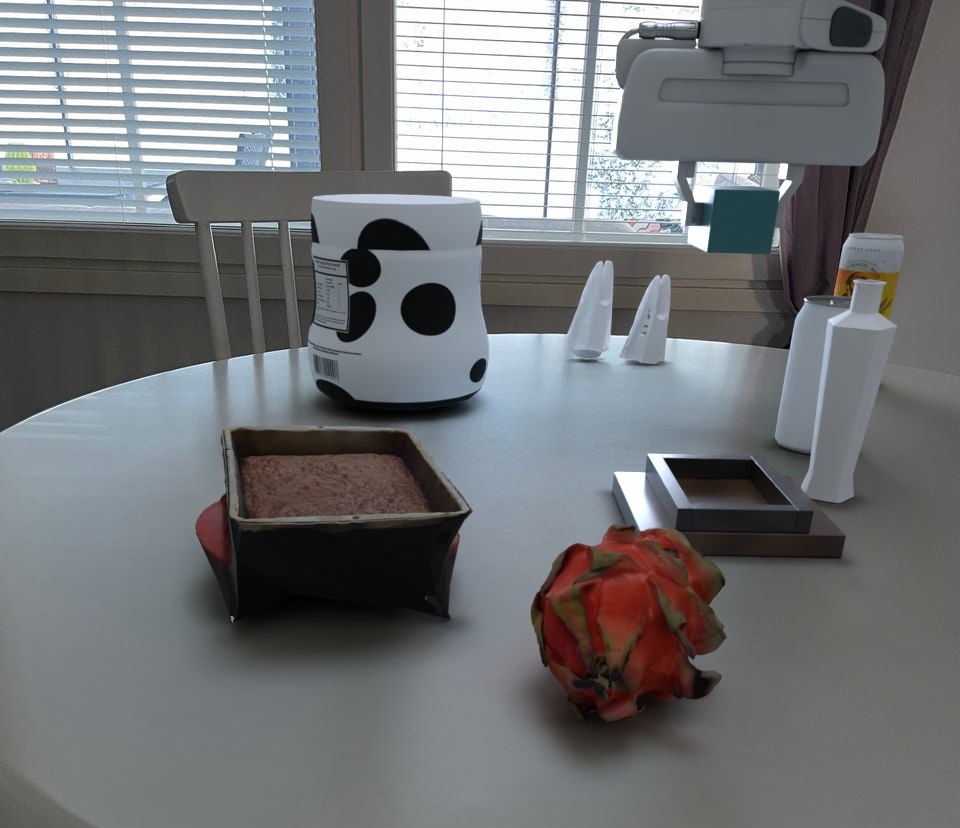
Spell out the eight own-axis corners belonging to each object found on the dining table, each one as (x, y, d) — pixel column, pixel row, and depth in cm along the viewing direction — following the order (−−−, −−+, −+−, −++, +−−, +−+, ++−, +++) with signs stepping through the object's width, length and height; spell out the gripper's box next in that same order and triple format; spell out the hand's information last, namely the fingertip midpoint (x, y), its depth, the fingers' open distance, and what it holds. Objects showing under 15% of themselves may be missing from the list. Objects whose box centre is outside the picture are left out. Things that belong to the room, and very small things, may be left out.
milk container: (500, 385, 98) (506, 197, 90) (470, 429, 83) (473, 207, 75) (342, 375, 101) (333, 191, 92) (285, 416, 86) (268, 200, 77)
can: (769, 450, 80) (795, 302, 74) (777, 431, 85) (802, 292, 79) (849, 460, 78) (882, 309, 72) (852, 440, 83) (883, 298, 77)
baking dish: (444, 555, 63) (429, 404, 60) (493, 643, 46) (476, 440, 43) (226, 582, 61) (198, 427, 58) (196, 683, 45) (154, 474, 41)
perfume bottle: (864, 507, 68) (914, 287, 61) (801, 502, 68) (844, 284, 61) (853, 486, 72) (899, 279, 65) (794, 482, 72) (833, 276, 65)
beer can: (810, 381, 104) (838, 234, 97) (827, 372, 108) (854, 231, 101) (866, 389, 101) (899, 239, 94) (881, 380, 105) (913, 235, 98)
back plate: (785, 494, 70) (792, 455, 68) (841, 557, 59) (851, 512, 58) (612, 491, 70) (615, 451, 68) (637, 554, 59) (642, 509, 58)
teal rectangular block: (745, 244, 80) (753, 186, 78) (770, 254, 73) (780, 190, 71) (687, 243, 80) (694, 184, 78) (706, 252, 73) (715, 189, 71)
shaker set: (562, 362, 110) (568, 261, 105) (564, 355, 114) (570, 257, 108) (665, 367, 109) (677, 265, 103) (664, 360, 112) (675, 261, 107)
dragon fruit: (658, 659, 50) (602, 816, 41) (537, 558, 49) (453, 696, 40) (775, 564, 45) (740, 721, 36) (640, 449, 44) (569, 580, 35)
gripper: (624, 15, 67) (607, 226, 73) (910, 22, 67) (867, 233, 73) (613, 25, 72) (598, 220, 79) (877, 31, 72) (840, 226, 79)
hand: (730, 226), depth 76 cm, fingers closed on teal rectangular block, 5 cm apart
